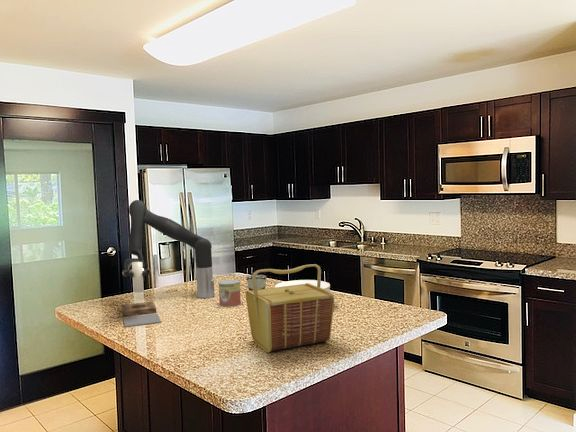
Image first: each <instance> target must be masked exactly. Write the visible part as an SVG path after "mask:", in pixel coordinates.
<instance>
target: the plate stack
mask: <svg viewBox="0 0 576 432" xmlns="http://www.w3.org/2000/svg"><path fill="white" fill-rule="evenodd" d="M306 283H309V284H312V285H315V286H317V280H316V279H297V280H296V279H294V280H288V281H282V282H278V283H277V284H275V285H274V288H276V287H284V286H292V285H300V284H306ZM320 288H322V289H325V290H328V291H330V292H331V289H330V288H331V284H330V282H328V281H327V282H326V281H325V280H324V281H323V280H321V284H320Z"/></svg>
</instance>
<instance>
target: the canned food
mask: <svg viewBox="0 0 576 432" xmlns="http://www.w3.org/2000/svg"><path fill="white" fill-rule="evenodd" d="M240 282H241V281H240V280H239V279H238V280H237V279H224V280H221V281H219V282H218V296H219V307H223V308H224V307H225V308H230V307H233V308H234V307H236V306H237V307H238V306H240V305H241V304H242V303H241V301H242V300H241V283H240Z"/></svg>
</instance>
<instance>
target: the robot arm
mask: <svg viewBox="0 0 576 432" xmlns="http://www.w3.org/2000/svg"><path fill="white" fill-rule="evenodd" d="M128 214H129V215H130V231H129V239H128V253H129V254H130V255H133V256H136V257H135V258H134V257H133V258H132V257H128V258H126V259H125V260H124V263H123V267H124V269H123V270H122V272H121V273H122V276H123V277H125V278H127V277H131V278H132V279H133V272H132V263H133V262H142V265H143V277H145V276H150V275H151V273H152V268H151V267H149V268H147V269H146V268H145V265H146V263H145V260H144V255H143V237H144V236H143V224H145V225H148V226H149V227H151V228H153V229H154V230H156V231H158V232H159V233H160V234H163V235H164V236H166V237H168V238H170V239H171V240H174V241H177V242H180V243H184V244H186V245H188V246H189V247H191V248H192V249H194V258H195V259H194V261H195V262H194V263H195V270H196V271H195V274H196V275H195V276H196V296H197V298H199V299H209V298H212V297H215V281H214V280H215V279H214V278H213V275H214V273H213V257H212V243H211V241H210V240H209V239H207V238H205V237H202V236H200V235H198V234H196V233H194V232H192V231H190V230H189V229H188V228H186V227H185V226H183V225H181V224H180V223H178V222H176V221H174V220H172V218H171V219H170V218H168V217H165V216H161V215H157V214H155V213H154V212H152V211H150V210H149V209H147V206H146V203H145V202H144V201H143V200H140V199H136V200H133V201H131V203H130V204H129V206H128Z"/></svg>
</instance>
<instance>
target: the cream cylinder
mask: <svg viewBox="0 0 576 432" xmlns="http://www.w3.org/2000/svg"><path fill="white" fill-rule="evenodd" d="M132 272H133V277H132V288H133V289H132V290H133V293H142V292H144V291H145V289H144V276H143V265H142V262H133V263H132Z"/></svg>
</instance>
